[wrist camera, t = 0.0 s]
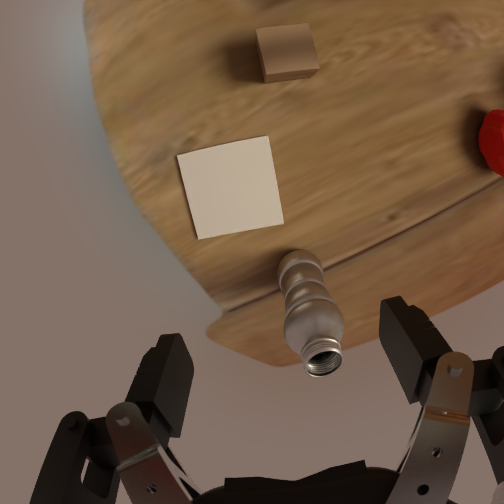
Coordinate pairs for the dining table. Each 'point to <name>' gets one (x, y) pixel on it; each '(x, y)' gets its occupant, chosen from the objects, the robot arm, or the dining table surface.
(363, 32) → the dining table surface
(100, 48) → the dining table surface
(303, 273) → the plastic bottle
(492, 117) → the tomato
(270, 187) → the plate
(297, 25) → the cube
